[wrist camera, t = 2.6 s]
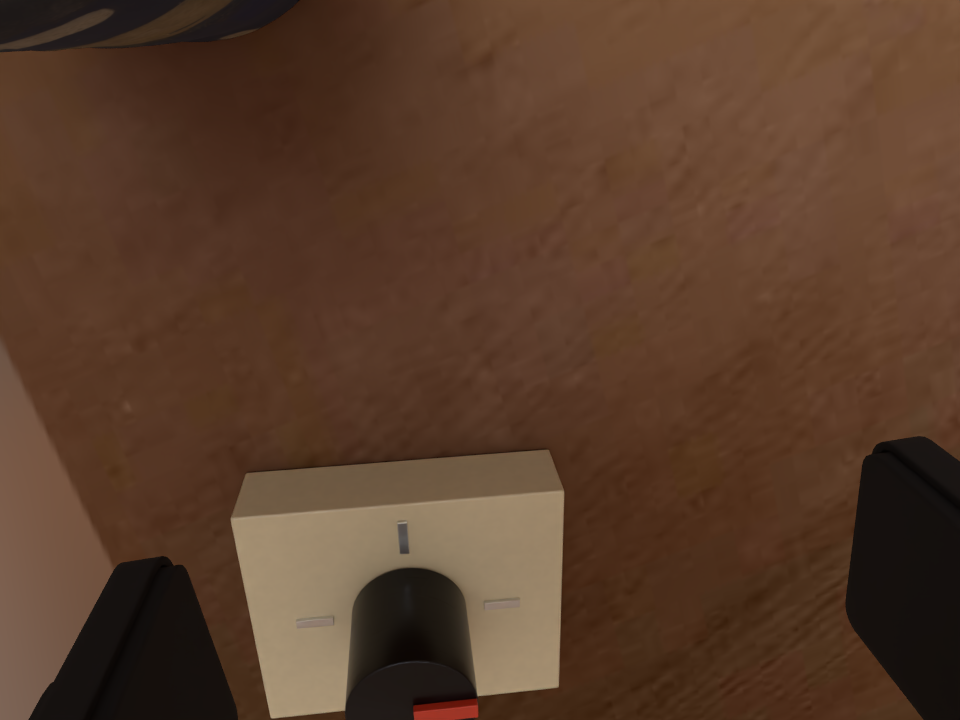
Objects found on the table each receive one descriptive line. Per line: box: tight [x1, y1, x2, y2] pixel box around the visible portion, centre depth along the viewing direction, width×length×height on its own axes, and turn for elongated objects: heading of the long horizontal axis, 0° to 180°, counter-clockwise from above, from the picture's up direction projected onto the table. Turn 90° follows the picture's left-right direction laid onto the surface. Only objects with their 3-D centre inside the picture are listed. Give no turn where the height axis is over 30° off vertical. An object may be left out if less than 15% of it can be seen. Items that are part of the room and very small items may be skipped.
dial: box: [345, 568, 478, 720], centre depth 26 cm, size 4×4×5 cm
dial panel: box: [231, 450, 564, 718], centre depth 29 cm, size 12×10×3 cm
